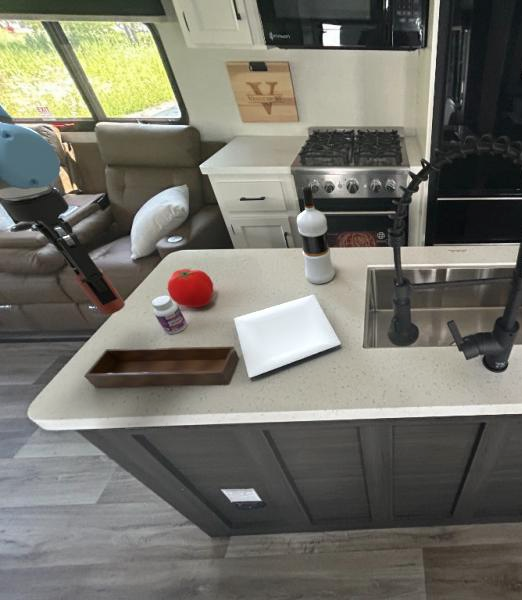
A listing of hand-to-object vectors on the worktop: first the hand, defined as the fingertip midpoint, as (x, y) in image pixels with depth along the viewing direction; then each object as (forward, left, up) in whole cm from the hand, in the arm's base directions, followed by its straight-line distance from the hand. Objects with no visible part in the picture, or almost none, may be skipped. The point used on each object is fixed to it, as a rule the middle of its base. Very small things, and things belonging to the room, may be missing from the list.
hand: (104, 296), depth 71 cm
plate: (+29, -19, -18) cm, 39 cm away
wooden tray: (+3, -12, -17) cm, 22 cm away
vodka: (+50, -2, -18) cm, 53 cm away
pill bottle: (+8, +3, -18) cm, 20 cm away
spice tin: (0, 0, -3) cm, 3 cm away
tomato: (+16, +11, -18) cm, 26 cm away
